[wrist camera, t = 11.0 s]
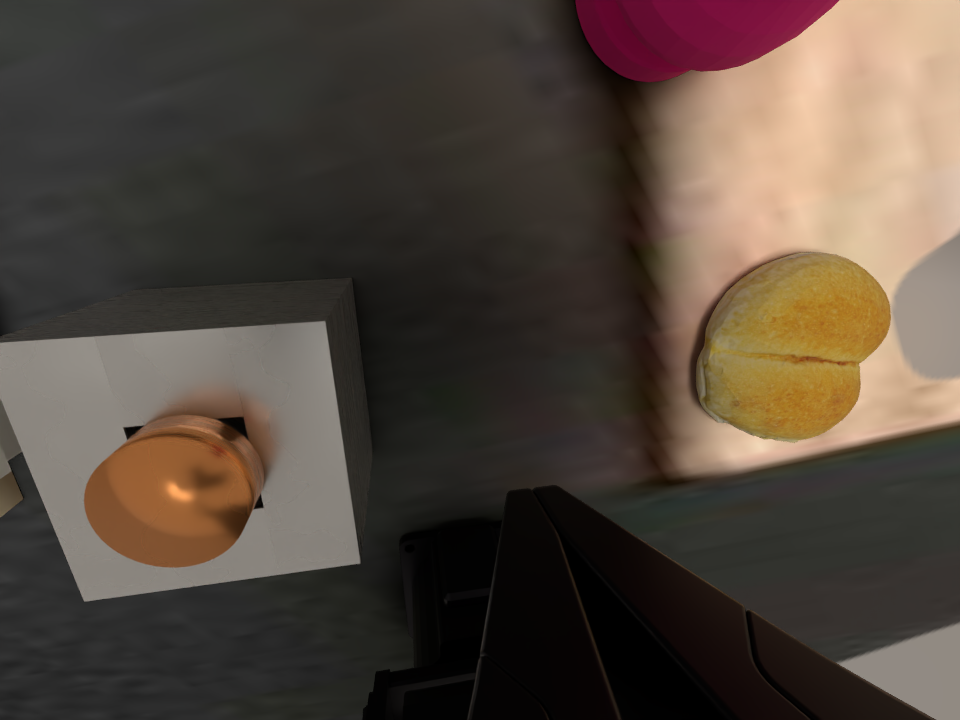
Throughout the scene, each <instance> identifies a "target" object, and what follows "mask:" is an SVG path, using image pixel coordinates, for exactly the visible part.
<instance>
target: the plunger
mask: <svg viewBox="0 0 960 720" xmlns="http://www.w3.org/2000/svg"><path fill="white" fill-rule="evenodd" d="M263 483H264V470H263V465H262V462H261V459H260V457H259V455H258V453H257V451H256V450H255V448H254V447H253V445H252V444H251V443H250V442H249V439H248V435H247V430H246V426H245V421H244V417H243V416H242V417H231V418H220V419H211V418H207V417H202V416H195V415H176V416H170V417H165V418H162V419H158V420H156V421H153V422H151V423H149V424H147V425H146V426H144V427H142V428H141V429H140V430H138V431H137V432H136V433H135V434H134V435H132V436H131V437H130V438H129V439H128V440H127V441H126V442H125V443H123V444H122V445H121V446H120V447H119V448H118V449H117V450H115V451H114V452H113V453H112V454H111V455H110V456H109V457H108V458H106V459H105V460H104V461H103V462H102V463H101V464H100V465H99V466H98V467H97V468H96V469H95V470H94V472H93V473H92V475H91V476H90V478H89V480H88V483H87V485H86V489H85V493H84V507H85V512H86V516H87V519H88V521H89V523H90V525H91V527H92V528H93V530H94V531H95V533H96V534H97V535H98V536H99V537H100V539H101V540H102V541H103V542H104V543H106V544H107V545H108V546H109V547H110V548H112V549H113V550H115V551H116V552H118V553H119V554H121V555H123V556H125V557H127V558H129V559H132V560H134V561H137V562H140V563H143V564H147V565H152V566H157V567H168V568H178V567H188V566H193V565H198V564H201V563H205V562H207V561H210V560H212V559H214V558H216V557H218V556H220V555H221V554H223V553H224V552H226V551H227V550H228V549H229V548H230V547H231V546H233V545H234V544H235V542H236V541H237V540H238V538H239V537H240V535H241V534H242V532H243V530H244V528H245V526H246V524H247V522H248V519H249V517H250V515H251V513H252V511H253V509H254V507H255V505H256V503H257V500H258V498H259V496H260V494H261V491H262V488H263Z"/></svg>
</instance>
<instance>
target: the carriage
mask: <svg viewBox="0 0 960 720" xmlns="http://www.w3.org/2000/svg"><path fill="white" fill-rule="evenodd" d="M20 452H22V450H21V447H20V445H19V442H18V440H17V437H16V435H15V433H14V430H13V428H12V425H11V423H10V421H9V418H8V416H7V413H6V411H5V408H4V406H3V404H2V401H1V399H0V479H1V478H2V477H4V476H5V475H7V474H8V473H9V472H11V468H10V466H9V464H8V461H9V460H10V459H12V458H13V457H15V456H16V455H17V454H19V453H20Z"/></svg>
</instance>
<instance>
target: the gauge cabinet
mask: <svg viewBox="0 0 960 720" xmlns="http://www.w3.org/2000/svg"><path fill="white" fill-rule="evenodd" d="M0 399H1V401H2V404H3V406H4V408H5V411H6V413H7V416H8V418H9V421H10V423H11V425H12V428H13V430H14V433H15V435H16V437H17V440H18V442H19V445H20V447H21V450H22V452H23V454H24V457H25V459H26V462H27V464H28V466H29V469H30V471H31V474H32V476H33V479H34V481H35V483H36V486H37V488H38V491H39V493H40V495H41V498H42V500H43V503H44V505H45V508H46V510H47V512H48V515H49V517H50V520H51V522H52V524H53V527H54V529H55V532H56V534H57V537H58V539H59V541H60V544H61V546H62V549H63V551H64V553H65V556H66V558H67V561H68V563H69V566H70V568H71V570H72V573H73V575H74V578H75V580H76V582H77V585H78V587H79V590H80V592H81V595H82V597H83V599H84V601H92V600H99V599H106V598H113V597H121V596H128V595H135V594H142V593H150V592H157V591H164V590H171V589H178V588H186V587H193V586H200V585H207V584H215V583H222V582H229V581H236V580H244V579H251V578H258V577H265V576H273V575H280V574H287V573H294V572H302V571H309V570H316V569H323V568H330V567H338V566H345V565H352V564H359V563H361V555H362V546H363V537H364V528H365V519H366V510H367V501H368V492H369V483H370V475H371V466H372V457H373V447H372V438H371V430H370V422H369V414H368V406H367V398H366V389H365V381H364V373H363V365H362V357H361V348H360V340H359V332H358V324H357V316H356V308H355V299H354V291H353V283H352V278H337V279H319V280H300V281H282V282H263V283H245V284H226V285H208V286H190V287H171V288H153V289H135V290H132V291H129V292H127V293H124V294H121V295H118V296H115V297H112V298H109V299H106V300H104V301H101V302H98V303H95V304H92V305H89V306H86V307H83V308H81V309H78V310H75V311H72V312H69V313H66V314H63V315H61V316H58V317H55V318H52V319H49V320H46V321H43V322H40V323H38V324H35V325H32V326H29V327H26V328H23V329H20V330H17V331H15V332H12V333H9V334H6V335H3V336H0ZM176 415H195V416H202V417H207V418H211V419H220V418H231V417H242V416H243V417H244V421H245V426H246V430H247V435H248V439H249V442H250V443H251V444H252V445H253V447H254V448H255V450H256V451H257V453H258V455H259V457H260V459H261V462H262V465H263V470H264V483H263V488H262V491H261V494H260V496H259V498H258V500H257V503H256V505H255V507H254V509H253V511H252V513H251V515H250V517H249V519H248V522H247V524H246V526H245V528H244V530H243V532H242V534H241V535H240V537H239V538H238V540H237V541H236V542H235V544H234V545H233V546H231V547H230V548H229V549H228V550H227V551H226V552H224V553H223V554H221V555H220V556H218V557H216V558H214V559H212V560H210V561H207V562H205V563H201V564H198V565H193V566H188V567H178V568H168V567H157V566H152V565H147V564H143V563H140V562H137V561H134V560H132V559H129V558H127V557H125V556H123V555H121V554H119V553H118V552H116V551H115V550H113V549H112V548H110V547H109V546H108V545H107V544H106V543H104V542H103V541H102V540H101V539H100V537H99V536H98V535H97V534H96V533H95V531H94V530H93V528H92V527H91V525H90V523H89V521H88V519H87V516H86V512H85V507H84V493H85V489H86V485H87V483H88V480H89V478H90V476H91V475H92V473H93V472H94V470H95V469H96V468H97V467H98V466H99V465H100V464H101V463H102V462H103V461H104V460H105V459H106V458H108V457H109V456H110V455H111V454H112V453H113V452H114V451H115V450H117V449H118V448H119V447H120V446H121V445H122V444H123V443H125V442H126V441H127V440H128V439H129V438H130V437H131V436H132V435H134V434H135V433H136V432H137V431H138V430H140V429H141V428H142V427H144V426H146V425H147V424H149V423H151V422H153V421H156V420H158V419H162V418H165V417H170V416H176Z"/></svg>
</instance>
